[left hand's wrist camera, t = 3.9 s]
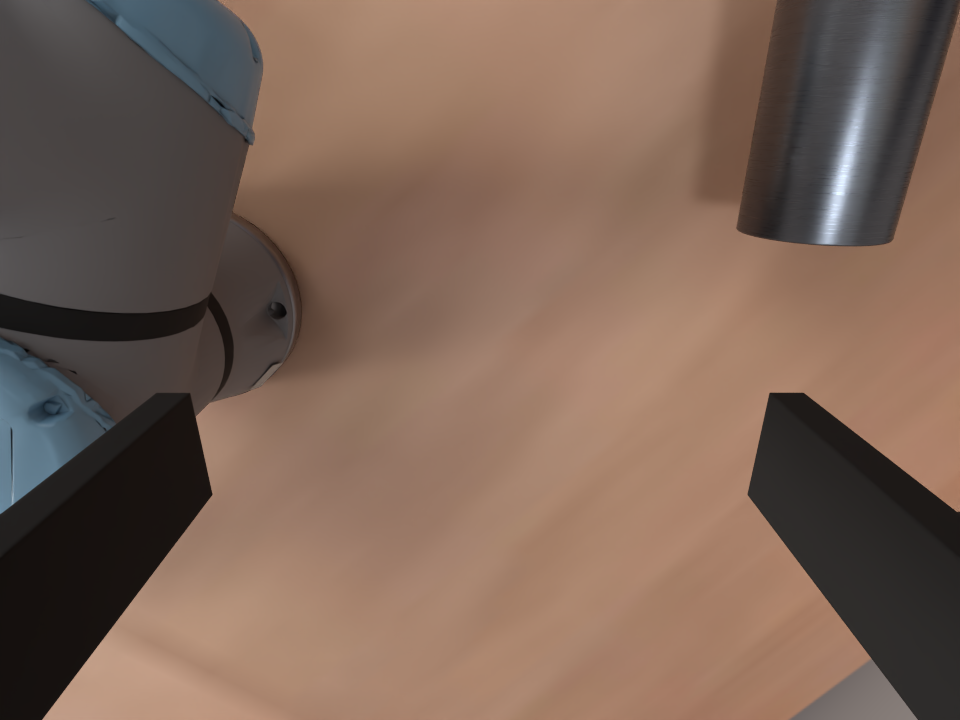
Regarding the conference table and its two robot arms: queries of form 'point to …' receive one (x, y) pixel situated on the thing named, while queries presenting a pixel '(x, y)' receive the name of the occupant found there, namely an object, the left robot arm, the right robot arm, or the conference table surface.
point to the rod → (842, 118)
